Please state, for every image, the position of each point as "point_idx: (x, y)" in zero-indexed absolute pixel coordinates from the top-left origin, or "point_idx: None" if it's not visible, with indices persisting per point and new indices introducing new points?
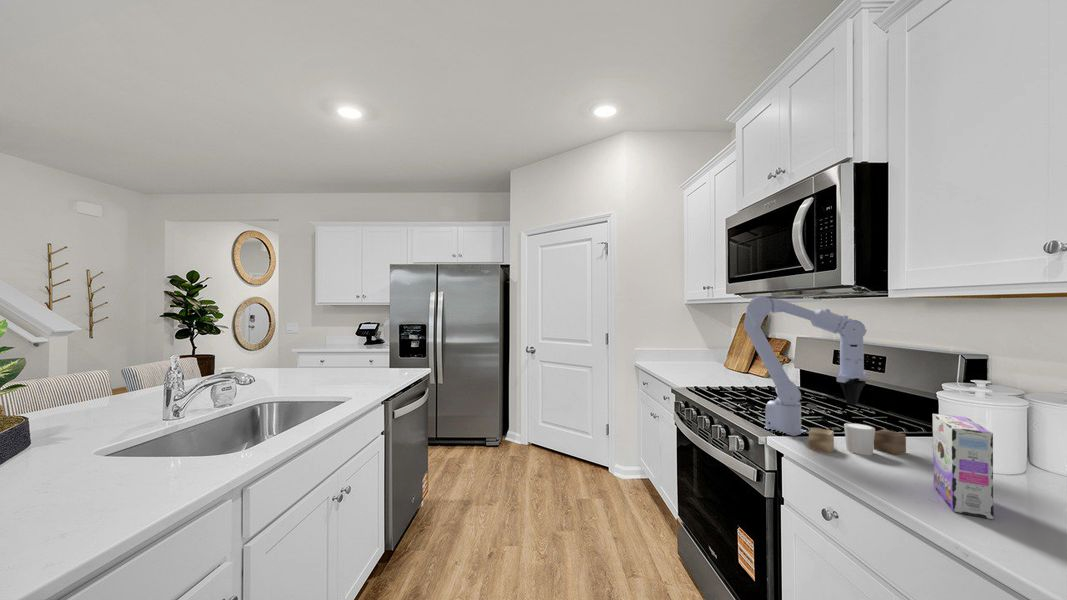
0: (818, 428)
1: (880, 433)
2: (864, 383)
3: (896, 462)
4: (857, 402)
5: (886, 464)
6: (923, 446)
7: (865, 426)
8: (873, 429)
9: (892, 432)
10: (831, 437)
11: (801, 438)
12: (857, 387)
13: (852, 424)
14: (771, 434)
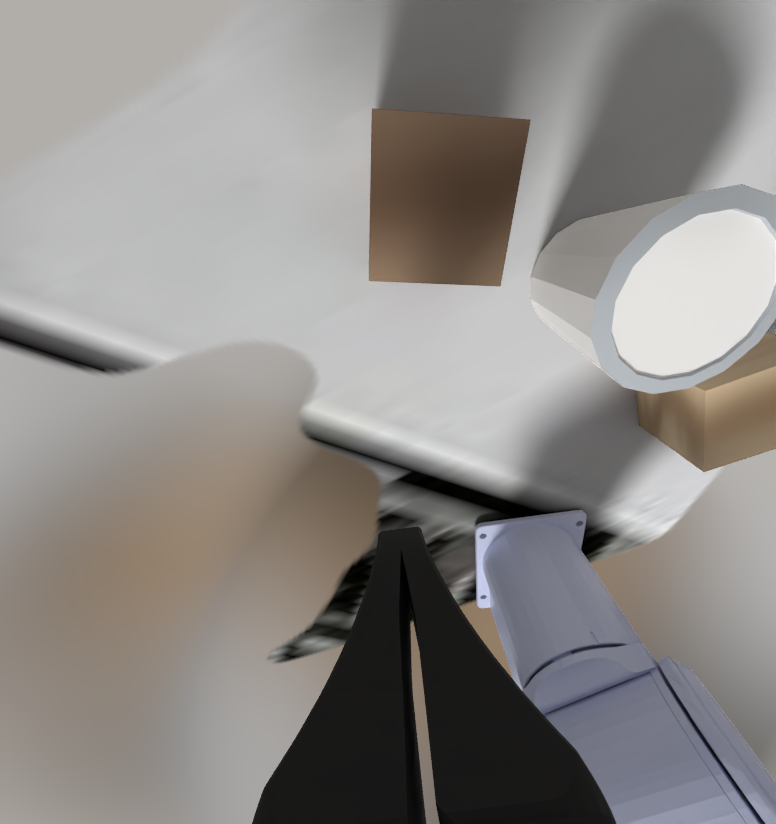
0: (703, 450)
1: (506, 237)
2: (328, 811)
3: (640, 53)
4: (384, 543)
5: (731, 63)
6: (121, 164)
7: (651, 283)
8: (720, 193)
9: (407, 203)
10: (765, 354)
11: (582, 486)
12: (537, 715)
13: (658, 357)
14: (621, 546)
